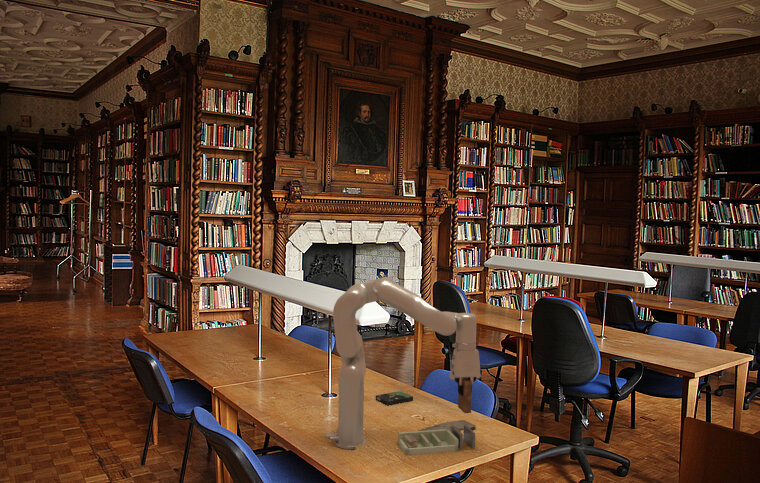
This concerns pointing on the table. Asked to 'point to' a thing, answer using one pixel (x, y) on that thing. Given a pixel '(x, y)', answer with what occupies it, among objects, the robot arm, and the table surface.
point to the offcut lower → (409, 445)
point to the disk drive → (394, 398)
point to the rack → (429, 442)
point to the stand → (468, 436)
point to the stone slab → (448, 425)
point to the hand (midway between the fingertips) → (464, 394)
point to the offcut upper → (410, 440)
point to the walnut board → (465, 396)
